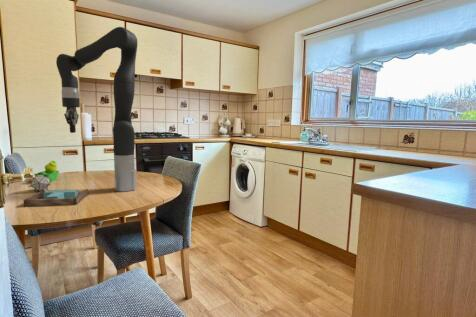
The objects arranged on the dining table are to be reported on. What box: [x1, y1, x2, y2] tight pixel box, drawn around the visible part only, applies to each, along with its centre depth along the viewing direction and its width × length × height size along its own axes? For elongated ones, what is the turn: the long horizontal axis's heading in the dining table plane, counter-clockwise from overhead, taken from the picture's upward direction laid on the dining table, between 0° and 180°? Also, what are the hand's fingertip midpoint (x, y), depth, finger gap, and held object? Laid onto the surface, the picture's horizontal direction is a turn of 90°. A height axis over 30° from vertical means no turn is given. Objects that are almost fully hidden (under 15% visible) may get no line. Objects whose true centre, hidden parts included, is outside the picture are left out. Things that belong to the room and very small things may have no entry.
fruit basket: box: [33, 160, 60, 184], centre depth 153 cm, size 11×9×11 cm
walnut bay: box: [22, 189, 89, 208], centre depth 120 cm, size 19×15×2 cm
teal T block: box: [43, 189, 79, 199], centre depth 121 cm, size 12×11×3 cm
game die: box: [28, 173, 51, 192], centre depth 134 cm, size 9×8×10 cm
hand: (72, 132), depth 143 cm, fingers closed
